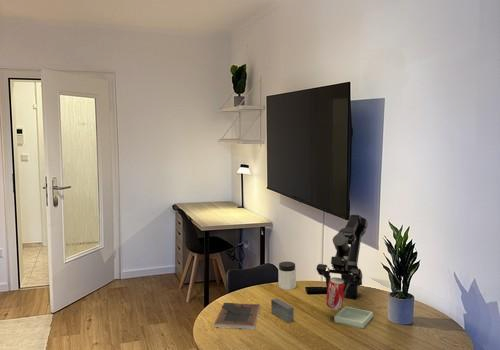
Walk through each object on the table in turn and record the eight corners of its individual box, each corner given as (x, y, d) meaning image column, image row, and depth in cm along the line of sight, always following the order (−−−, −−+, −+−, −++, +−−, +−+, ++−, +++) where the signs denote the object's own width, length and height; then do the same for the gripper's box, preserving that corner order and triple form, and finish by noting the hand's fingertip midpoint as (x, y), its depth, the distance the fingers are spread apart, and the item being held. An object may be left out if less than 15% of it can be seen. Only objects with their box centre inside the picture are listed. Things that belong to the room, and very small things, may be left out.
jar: (287, 291, 226) (287, 267, 224) (275, 287, 232) (275, 264, 230) (299, 286, 232) (299, 263, 231) (287, 282, 238) (286, 260, 236)
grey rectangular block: (277, 311, 203) (277, 298, 203) (294, 320, 193) (293, 307, 193) (271, 312, 202) (271, 299, 201) (287, 322, 192) (287, 309, 191)
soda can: (344, 311, 190) (347, 284, 188) (326, 310, 190) (329, 283, 188) (341, 303, 197) (344, 277, 195) (324, 302, 197) (327, 276, 195)
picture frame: (224, 307, 210) (214, 329, 188) (224, 302, 209) (214, 323, 188) (260, 309, 207) (254, 331, 186) (260, 303, 207) (253, 325, 186)
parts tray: (345, 311, 202) (345, 306, 201) (372, 317, 195) (372, 312, 195) (334, 322, 192) (334, 316, 191) (362, 328, 185) (362, 323, 185)
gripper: (317, 245, 197) (309, 279, 189) (361, 250, 189) (355, 285, 181) (322, 257, 205) (315, 290, 197) (365, 262, 197) (359, 297, 189)
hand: (335, 290), depth 191 cm, fingers closed on soda can, 7 cm apart
